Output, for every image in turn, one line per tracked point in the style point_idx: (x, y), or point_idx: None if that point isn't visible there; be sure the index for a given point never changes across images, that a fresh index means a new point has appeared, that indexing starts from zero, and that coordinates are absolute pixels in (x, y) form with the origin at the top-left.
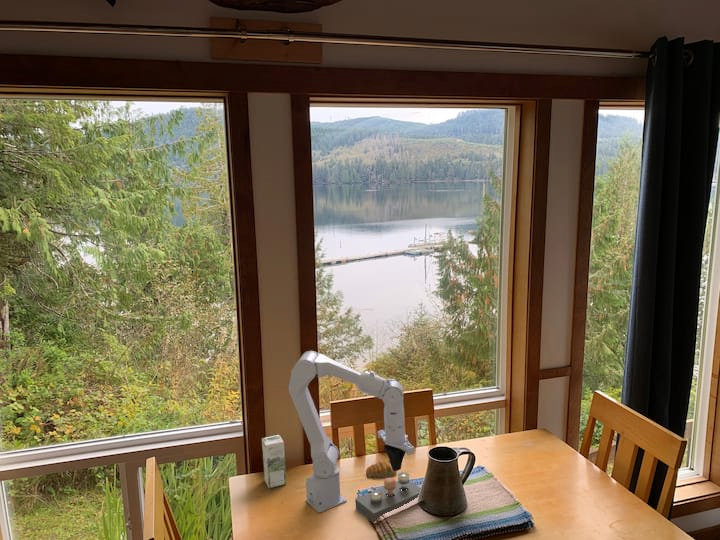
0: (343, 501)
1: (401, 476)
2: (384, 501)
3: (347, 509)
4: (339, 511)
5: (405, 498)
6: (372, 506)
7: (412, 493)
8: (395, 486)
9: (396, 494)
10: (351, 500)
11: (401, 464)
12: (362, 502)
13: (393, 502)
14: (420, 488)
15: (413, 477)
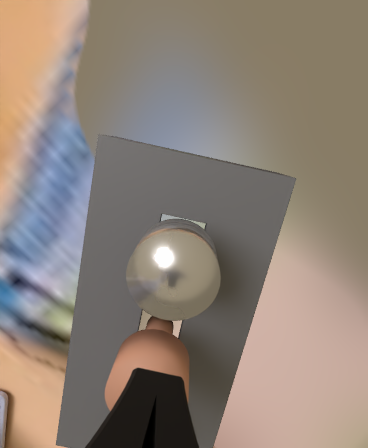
0: (4, 410)
1: (175, 305)
2: None
3: (54, 421)
4: (43, 444)
5: (247, 308)
6: None
7: (250, 248)
8: (184, 352)
9: None
10: (14, 373)
11: (191, 422)
12: None
13: (219, 369)
14: (257, 172)
15: (73, 4)
